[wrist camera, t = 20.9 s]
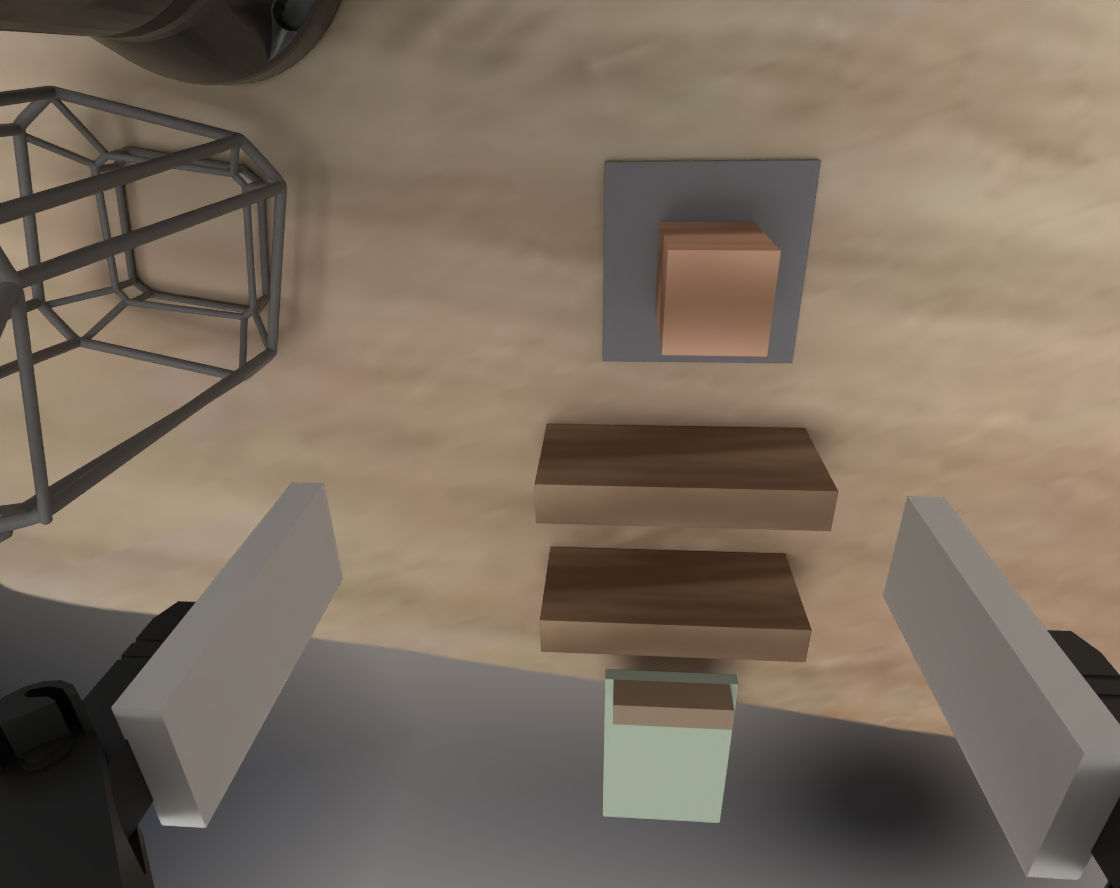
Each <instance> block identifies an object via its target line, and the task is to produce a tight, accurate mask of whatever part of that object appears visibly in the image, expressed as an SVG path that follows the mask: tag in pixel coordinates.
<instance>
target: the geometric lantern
mask: <svg viewBox="0 0 1120 888" xmlns="http://www.w3.org/2000/svg"><path fill="white" fill-rule="evenodd" d="M61 100H63V101H67V102H71V103H75V104H79V105H83V106H87V107H91V108H94V109H98V110H102V111H106V112H110V113H114V114H118V115H122V116H126V117H130V118H134V119H138V120H142V121H146V122H150V123H154V124H158V125H162V126H166V127H169V128H173V129H177V130H181V131H185V132H189V133H193V134H197V135H201V136H205V137H209V138H213V139H217V140H215V141H212V142H209V143H206V144H202V145H199V146H196V147H192V148H189V149H185V150H182V151H178V152H175V153H171V154H169V153H163V152H157V151H151V150H144V149H138V148H132V147H123V148H122V149H120V150H115V151H110V152H108V151H107V149H106V148H105V147H104V146H103V145H102V144H101V143H100V142H99V141H98V140H97V139H96V138H95V137H94V136H93V135H92V133H91V132H90V131H89V130H88V129H87V128H86V127H85V126H84V125H83V124H82V123H81V122H80V121H79V120H78V119H77V117H76V116H75V115H74V114H73V113H72V112H71V111H70V110H69V109H68V108H67V107H66V106H65V105H64V104H63V103H62V101H61ZM25 102H31V103H30V104H29V105H28V106H27V107H26V108H25V109H24V110H23V111H22V112H21V113H20V114H19V115H18V116H17V118H16V119H15V120H14V122H13V123H9V124H0V137H5V136H13V141H14V149H15V157H16V165H17V173H18V181H19V189H20V198H16V199H13V200H9V201H6V202H2V203H0V224H3V223H6V222H9V221H12V220H16V219H19V218H22V217H23V222H24V230H25V238H26V246H27V255H28V263H29V267H28V268H25V269H23V270H20V271H16V270H15V269H14V267H13V266H12V264H11V263H10V261H9V259H8V258H7V256H6V255H5V253H4V251H3V250H2V248H1V247H0V337H1V335H2V333H3V330H4V328H5V325H6V323H7V321H8V320H9V319H11V318H12V323H13V330H14V338H15V345H16V352H17V360H15V361H12V362H10V363H7V364H5V365H2V366H0V379H1V378H3V377H6V376H8V375H10V374H13V373H15V372H18V371H19V374H20V382H21V389H22V396H23V404H24V411H25V418H26V426H27V433H28V440H29V448H30V455H31V462H32V470H33V477H34V484H35V492H36V495H34V496H33V497H31V498H30V499H28V500H26V501H25V502H23V503H18V504H10V505H3V506H0V515H2V516H0V543H1V542H2V541H4V540H6V539H8V538H10V537H11V536H12V533H13V530H16V529H19V528H23V527H27V526H30V525H34V524H37V523H42V524H44V525H46V524H49V523H51V522H52V520H53V518H52V515H54V514H55V513H56V512H58V511H59V510H61V509H62V508H63V507H65V506H66V505H68V504H69V503H70V502H72V501H73V500H75V499H76V498H77V497H79V496H80V495H82V494H83V493H84V492H86V491H87V490H89V489H90V488H91V487H93V486H94V485H95V484H97V483H98V482H100V481H101V480H102V479H104V478H105V477H107V476H108V475H109V474H111V473H112V472H114V471H115V470H116V469H118V468H119V467H121V466H122V465H123V464H125V463H126V462H127V461H129V460H130V459H132V458H133V457H134V456H136V455H137V454H139V453H140V452H141V451H143V450H144V449H146V448H147V447H148V446H150V445H151V444H153V443H154V442H155V441H157V440H158V439H159V438H161V437H162V436H164V435H165V434H166V433H168V432H169V431H171V430H172V429H173V428H175V427H176V426H178V425H179V424H180V423H182V422H183V421H185V420H186V419H187V418H189V417H190V416H191V415H193V414H194V413H196V412H197V411H198V410H200V409H201V408H203V407H204V406H205V405H207V404H208V403H210V402H211V401H213V400H214V399H216V398H218V397H219V396H221V395H222V394H224V393H226V392H227V391H229V390H230V389H232V388H233V387H235V386H237V385H238V384H240V383H241V382H243V381H245V380H247V379H249V378H250V377H252V376H253V375H254V374H255V373H257V372H258V371H259V370H260V369H261V368H263V367H264V366H265V365H266V364H267V363H269V362H270V361H271V360H272V359H273V358H274V357H275V356H276V354H277V343H278V326H279V310H280V293H281V276H282V260H283V243H284V227H285V210H286V193H287V186H286V182H285V180H284V179H283V178H282V176H281V175H280V174H279V173H278V171H277V170H276V169H275V168H274V167H273V166H272V165H271V164H270V162H269V161H268V160H267V159H266V158H265V157H264V156H263V155H262V154H261V153H260V152H259V150H258V149H257V148H256V147H255V146H254V145H253V144H252V143H251V142H250V141H249V140H248V139H247V138H246V137H245V136H244V135H242V134H240V133H236V132H232V131H228V130H224V129H221V128H217V127H213V126H209V125H205V124H201V123H197V122H193V121H189V120H185V119H181V118H177V117H173V116H169V115H165V114H162V113H158V112H154V111H150V110H146V109H142V108H138V107H134V106H130V105H126V104H122V103H118V102H114V101H110V100H106V99H102V98H99V97H95V96H91V95H87V94H83V93H79V92H75V91H71V90H67V89H63V88H59V87H55V86H43V87H35V88H27V89H19V90H11V91H3V92H0V106H6V105H12V104H19V103H25ZM51 102H52V103H53V104H54V105H55V106H56V107H57V108H58V109H59V110H60V111H61V112H62V113H63V114H64V116H65V117H66V118H67V119H68V120H69V121H70V122H71V123H72V124H73V125H74V126H75V127H76V128H77V129H78V130H79V131H80V132H81V133H82V134H83V135H84V136H85V138H86V139H87V140H88V141H89V142H90V143H91V144H92V145H93V146H94V147H95V148H96V149H97V150H98V151H99V152H100V153H101V155H100V156H99V157H98V158H97V159H96V160H95V161H93V160H91V159H88V158H86V157H83V156H81V155H78V154H76V153H74V152H71V151H69V150H66V149H64V148H61V147H59V146H56V145H54V144H52V143H49V142H47V141H44V140H42V139H39V138H37V137H34V136H32V135H30V134H27V133H26V128H27V127H28V126H29V124H30V123H31V122H32V121H33V120H34V119H35V118H36V117H37V116H38V115H39V114H40V113H41V112H42V111H43V110H44V109H45V108H46V107H47V106H48V105H49V104H50V103H51ZM27 142H30V143H32V144H35V145H37V146H40V147H42V148H45V149H47V150H50V151H52V152H54V153H57V154H59V155H62V156H64V157H67V158H69V159H72V160H74V161H77V162H79V163H82V164H84V165H87V166H89V167H91V171H92V177H89V178H86V179H82V180H79V181H75V182H72V183H68V184H65V185H62V186H58V187H55V188H51V189H48V190H44V191H41V192H37V193H34V194H33V191H32V182H31V173H30V165H29V156H28V147H27ZM240 147H241V148H242V149H243V150H244V151H245V152H246V154H247V155H248V156H249V157H250V158H251V159H252V160H253V161H254V162H255V163H256V164H257V165H258V167H259V168H260V169H261V170H262V171H263V172H264V173H265V174H266V175H267V176H268V177H269V179H270V180H271V181H272V182H273V183H263V182H262V181H261V180H260V179H259V178H258V177H256V176H255V175H254V174H253V173H251V172H250V171H249V170H248V169H247V168H246V167H245V166H244V165H241V164H238V159H239V150H240ZM229 149H231V161H230V163H225V162H219V161H213V160H206V159H203V158H206V157H210V156H213V155H215V154H218V153H221V152H224V151H226V150H229ZM128 154H132V155H128ZM133 155H138V156H133ZM140 156H145V157H140ZM147 157H151V158H147ZM108 159H110V160H115V162H114V163H112V164H104V163H105V162H106V161H107V160H108ZM124 162H131V163H137V164H134V165H130V166H127V167H123V168H121V167H122V165H123V163H124ZM103 164H104V165H103ZM170 169H180V170H187V171H194V172H201V173H207V174H214V175H221V176H228V177H232V178H233V179H234V180H235V181H236V182H237V183H238V184H239V185H240V186H241V187H242V194H240V195H237V196H234V197H231V198H228V199H225V200H222V201H219V202H217V203H214V204H211V205H208V206H205V207H202V208H199V209H196V210H193V211H190V212H187V213H184V214H181V215H178V216H175V217H172V218H169V219H166V220H163V221H160V222H157V223H154V224H151V225H148V226H146V227H143V228H140V229H137V230H134V231H131V232H129V226H128V219H127V212H126V205H125V198H124V191H123V185H124V184H127V183H130V182H133V181H136V180H139V179H142V178H145V177H148V176H151V175H154V174H157V173H161V172H164V171H167V170H170ZM107 171H110V172H107ZM100 172H106V173H103V174H100ZM238 173H242V174H243V175H245V176H246V177H247V178H248V179H250V180H251V181H252V183H250V184H247V183H246V182H245V180H244V179H243V178H242V177H241V176H240V175H239V174H238ZM111 188H116V195H117V202H118V209H119V215H120V222H121V229H122V235H119V236H116V237H113V238H111V234H110V229H109V223H108V217H107V211H106V205H105V200H104V194H103V191H105V190H108V189H111ZM93 194H96V199H97V205H98V211H99V216H100V222H101V228H102V233H103V239H104V241H101V242H98V243H95V244H92V245H89V246H86V247H83V248H80V249H78V250H75V251H72V252H69V253H67V254H64V255H61V256H58V257H56V258H53V259H50V260H47V261H45V262H42V263H41V261H40V252H39V243H38V235H37V226H36V217H35V213H38V212H41V211H44V210H47V209H50V208H53V207H56V206H59V205H62V204H66V203H69V202H72V201H75V200H78V199H81V198H84V197H87V196H90V195H93ZM274 195H275V203H274V222H273V241H272V260H271V278H270V295H269V277H268V257H267V238H266V218H265V199H267V198H269V197H272V196H274ZM256 202H258V218H259V236H260V254H261V272H262V290H263V296H262V297H260V298H259V299H258V300H256V286H255V269H254V253H253V237H252V221H251V204H254V203H256ZM240 208H243V211H244V226H245V241H246V256H247V271H248V286H249V302H250V307H244V306H238V305H232V304H226V303H219V302H213V301H207V300H201V299H194V298H188V297H182V296H176V295H169V294H163V293H157V292H152V291H151V290H149V289H148V288H147V287H145V286H144V285H143V284H142V283H140V282H139V281H138V280H137V279H136V276H135V269H134V261H133V254H132V248H135V247H138V246H140V245H143V244H146V243H149V242H151V241H154V240H157V239H159V238H162V237H165V236H167V235H170V234H173V233H175V232H178V231H181V230H184V229H186V228H189V227H192V226H194V225H197V224H200V223H202V222H205V221H208V220H210V219H213V218H216V217H219V216H221V215H224V214H227V213H229V212H232V211H235V210H237V209H240ZM124 251H125V256H126V263H127V270H128V277H129V280H126V281H123V282H120V283H119V281H118V275H117V269H116V263H115V258H114V255H116V254H119V253H122V252H124ZM105 258H107V261H108V267H109V273H110V278H111V284H112V286H111V287H107V288H103V289H98V290H94V291H90V292H85V293H81V294H77V295H73V296H68V297H64V298H60V299H56V300H51V301H47V302H46V301H45V296H44V287H43V281H45V280H48V279H50V278H53V277H56V276H59V275H62V274H64V273H67V272H70V271H73V270H75V269H78V268H81V267H84V266H86V265H89V264H92V263H95V262H97V261H100V260H103V259H105ZM132 285H134V286H135V287H137V288H138V289H139V290H141V291H142V292H143V294H141V295H139V296H137V297H135V298H133V299H130V298H129V297H128V296H127V295H126V294H125V293H124V292H123V291H122V290H121V289H123V288H126V287H129V286H132ZM28 286H31V287H32V295H33V299H31V300H28V301H25V295H24V291H23V288H26V287H28ZM111 293H116V294H117V295H118V296H119V297H120V298H121V299H122V301H121V302H120V303H119V304H118V305H117V306H116V307H115V308H113V309H112V310H111V311H110V312H109V313H108V314H107V315H106V316H105V317H104V318H103V319H101V320H100V321H99V322H98V323H97V324H96V325H95V326H94V327H93V328H92V329H90V330H89V331H88V332H87V333H86V334H85V335H84V336H83V337H79V336H78V335H77V334H76V333H75V332H74V331H73V330H72V329H71V328H70V327H69V326H68V325H67V324H66V323H65V322H64V321H63V320H62V319H61V318H60V317H59V316H58V315H57V314H56V313H55V312H54V311H53V310H52V307H56V306H60V305H65V304H69V303H73V302H77V301H81V300H86V299H90V298H94V297H98V296H102V295H107V294H111ZM148 298H156V299H162V300H168V301H175V302H181V303H187V304H193V305H200V306H206V307H212V308H218V309H225V310H231V311H237V312H243V313H234V312H226V311H218V310H210V309H203V308H195V307H187V306H179V305H172V304H164V303H156V302H149V301H144V300H146V299H148ZM268 300H269V316H268V334H267V332H266V329H265V327H264V325H263V322H262V320H261V317H260V315H259V313H260V311H261V310H262V309H263V307H264V306H265V304H266V303H267V301H268ZM128 305H130V306H138V307H146V308H153V309H161V310H169V311H177V312H184V313H192V314H200V315H208V316H215V317H223V318H231V319H239V320H241V326H240V355H239V368H238V369H236V370H235V371H232V370H228V369H223V368H219V367H214V366H210V365H205V364H200V363H196V362H191V361H187V360H182V359H178V358H173V357H169V356H164V355H160V354H155V353H150V352H146V351H141V350H137V349H132V348H128V347H123V346H119V345H114V344H110V343H105V342H101V341H96V340H91V339H92V338H93V337H94V336H95V335H96V334H97V333H98V332H99V331H100V330H102V329H103V328H104V327H105V326H106V325H107V324H108V323H109V322H110V321H111V320H112V319H114V318H115V317H116V316H117V315H118V314H119V313H120V312H121V311H122V310H123V309H124V308H126V307H127V306H128ZM37 308H38V309H39V311H40V312H41V313H42V314H43V315H44V316H45V317H46V318H47V319H48V320H49V322H50V323H51V324H52V325H53V326H54V327H55V328H56V329H57V330H58V331H59V332H60V333H61V334H62V335H63V336H64V337H65V338H66V339H67V341H65V342H62V343H59V344H57V345H54V346H51V347H48V348H46V349H43V350H40V351H38V352H35V353H33V354H32V351H31V343H30V335H29V327H28V319H27V312H29V311H32V310H34V309H37ZM250 316H253V318H254V321H255V323H256V326H257V328H258V330H259V333H260V335H261V338H262V340H263V343H264V345H265V347H266V350H264V351H263V352H261V353H260V354H258V355H257V356H256V357H254V358H253V359H251V360H250V361H248V362H247V363H246V357H247V326H248V318H249V317H250ZM78 347H84V348H88V349H93V350H97V351H102V352H107V353H111V354H116V355H120V356H125V357H129V358H134V359H139V360H143V361H148V362H152V363H157V364H161V365H166V366H171V367H175V368H180V369H184V370H189V371H193V372H198V373H203V374H207V375H212V376H216V377H221V378H223V379H222V380H220V381H219V382H218V383H216V384H215V385H213V386H212V387H210V388H209V389H207V390H206V391H204V392H203V393H201V394H200V395H199V396H197V397H196V398H194V399H193V400H191V401H190V402H188V403H187V404H185V405H184V406H182V407H181V408H179V409H178V410H176V411H174V412H173V413H171V414H169V415H168V416H166V417H164V418H163V419H161V420H159V421H158V422H156V423H154V424H153V425H151V426H149V427H148V428H146V429H144V430H143V431H141V432H139V433H138V434H136V435H134V436H133V437H131V438H129V439H128V440H126V441H124V442H122V443H121V444H119V445H117V446H116V447H114V448H112V449H111V450H109V451H107V452H106V453H104V454H102V455H101V456H99V457H97V458H96V459H94V460H92V461H91V462H89V463H87V464H86V465H84V466H82V467H81V468H79V469H77V470H76V471H74V472H72V473H71V474H69V475H67V476H66V477H64V478H62V479H61V480H59V481H57V482H56V483H54V484H52V485H51V486H48V478H47V470H46V462H45V454H44V446H43V439H42V431H41V423H40V415H39V407H38V399H37V391H36V383H35V375H34V367H33V365H34V364H37V363H39V362H42V361H44V360H47V359H49V358H52V357H54V356H57V355H59V354H62V353H65V352H67V351H70V350H72V349H75V348H78Z"/></svg>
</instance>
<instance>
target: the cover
mask: <svg viewBox="0 0 1120 888" xmlns="http://www.w3.org/2000/svg"><path fill="white" fill-rule="evenodd" d="M737 690H738V681H737V676H736V675H731V674H707V673H683V672H659V671H635V670H611V669H606V674H605V732H604V791H603V816H609V817H628V818H646V819H663V820H680V821H698V822H715V823H719V822H720V815H721V808H722V801H723V793H724V786H725V778H726V771H727V764H728V756H729V748H730V742H731V734H732V727H733V719H734V712H735V705H736V697H737Z"/></svg>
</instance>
